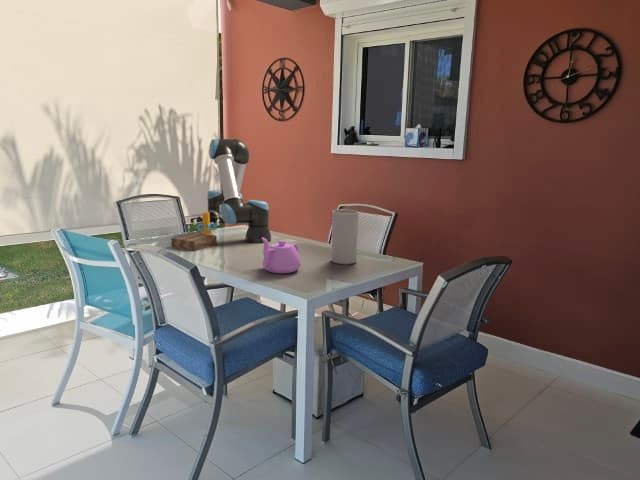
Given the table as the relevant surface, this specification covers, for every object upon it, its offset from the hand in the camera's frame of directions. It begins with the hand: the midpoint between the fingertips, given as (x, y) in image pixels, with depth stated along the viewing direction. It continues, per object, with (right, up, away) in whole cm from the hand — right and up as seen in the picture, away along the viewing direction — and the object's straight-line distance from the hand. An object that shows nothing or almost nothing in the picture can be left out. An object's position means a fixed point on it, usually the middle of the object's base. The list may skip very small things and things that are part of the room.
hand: (205, 223), depth 287 cm
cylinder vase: (+79, -21, -45) cm, 93 cm away
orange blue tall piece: (0, -9, +4) cm, 9 cm away
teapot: (+48, -24, -62) cm, 82 cm away
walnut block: (-2, -13, -19) cm, 23 cm away
